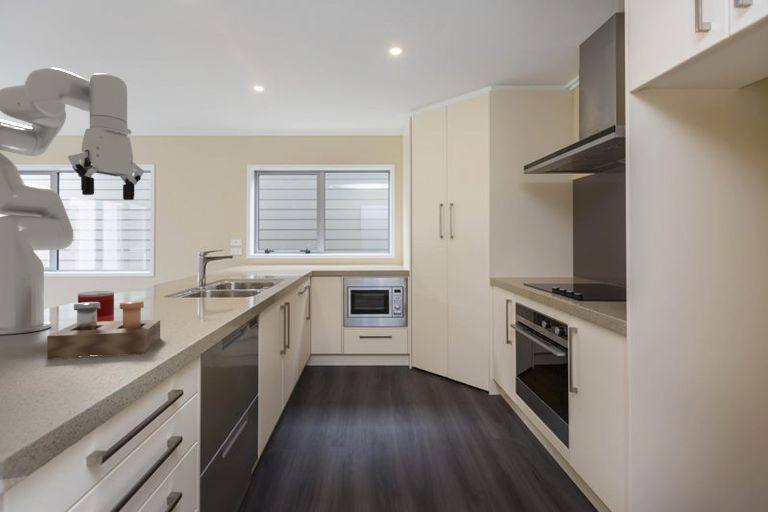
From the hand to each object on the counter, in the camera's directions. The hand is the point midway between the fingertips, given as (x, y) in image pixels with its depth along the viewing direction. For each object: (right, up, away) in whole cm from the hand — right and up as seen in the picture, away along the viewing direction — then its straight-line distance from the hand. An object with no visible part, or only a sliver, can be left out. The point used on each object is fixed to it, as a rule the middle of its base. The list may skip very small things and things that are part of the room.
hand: (109, 197), depth 92 cm
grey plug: (-1, -33, -5) cm, 33 cm away
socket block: (+3, -37, -4) cm, 37 cm away
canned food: (-11, -36, +10) cm, 39 cm away
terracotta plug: (+7, -33, -2) cm, 34 cm away
